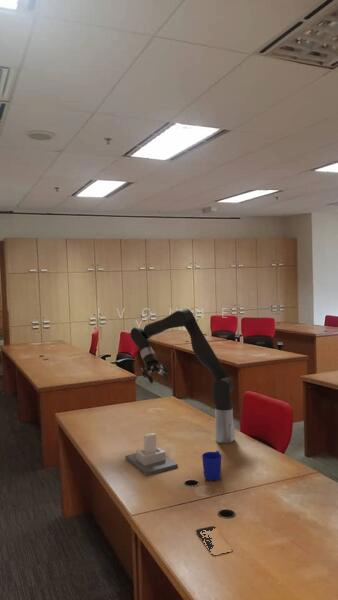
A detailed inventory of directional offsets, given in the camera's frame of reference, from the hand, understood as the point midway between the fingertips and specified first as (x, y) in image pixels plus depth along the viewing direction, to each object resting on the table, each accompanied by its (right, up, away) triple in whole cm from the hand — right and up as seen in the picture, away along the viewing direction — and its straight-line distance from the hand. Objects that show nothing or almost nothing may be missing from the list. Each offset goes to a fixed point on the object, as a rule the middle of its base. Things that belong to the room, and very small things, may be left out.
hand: (159, 381), depth 245 cm
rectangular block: (-3, -31, -31) cm, 44 cm away
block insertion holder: (-3, -33, -31) cm, 45 cm away
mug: (+24, -33, -47) cm, 62 cm away
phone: (+20, -36, -95) cm, 103 cm away
